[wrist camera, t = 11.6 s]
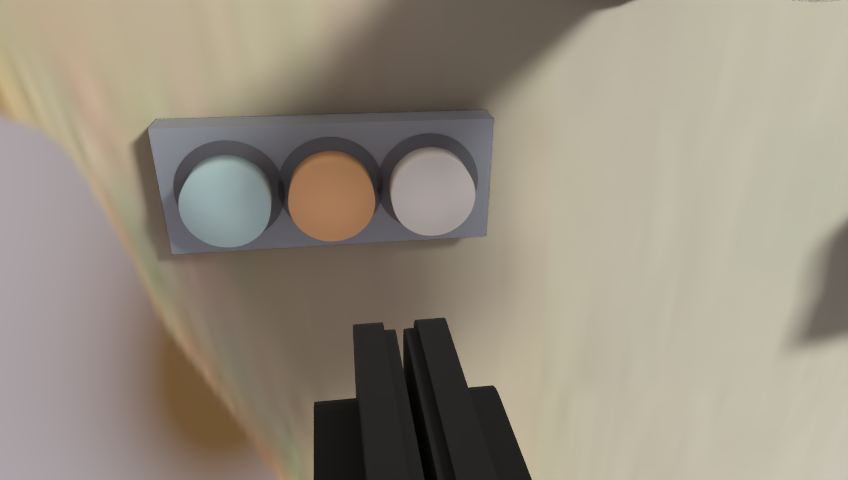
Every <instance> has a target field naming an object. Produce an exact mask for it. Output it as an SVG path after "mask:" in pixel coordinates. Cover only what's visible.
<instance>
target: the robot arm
mask: <svg viewBox="0 0 848 480" xmlns="http://www.w3.org/2000/svg"><path fill="white" fill-rule="evenodd" d="M794 1H805V2H827V1H838V0H794ZM353 339H354V361H355V382H356V398H353V399H342V400H332V401H321V402H314V480H532V479H531V477H530V474H529V471H528V469H527V466H526V464H525V461H524V458H523V456H522V453H521V451H520V448H519V446H518V443H517V440H516V438H515V435H514V433H513V430H512V427H511V425H510V422H509V420H508V417H507V414H506V412H505V409H504V407H503V404H502V401H501V399H500V396H499V394H498V392H497V390H496V388H495V387H494V386H482V387H471V388H468V386H467V383H466V380H465V377H464V374H463V371H462V368H461V365H460V362H459V359H458V356H457V352H456V349H455V346H454V343H453V340H452V337H451V334H450V331H449V328H448V325H447V322H446V319H445V318H434V319H421V320H415V321H414V328H407V329H404V334H403V366H402V361H401V356H400V351H399V346H398V341H397V336H396V331H395V329H394V330H384V325H383V322H381V323H368V324H355V325H353Z"/></svg>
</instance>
